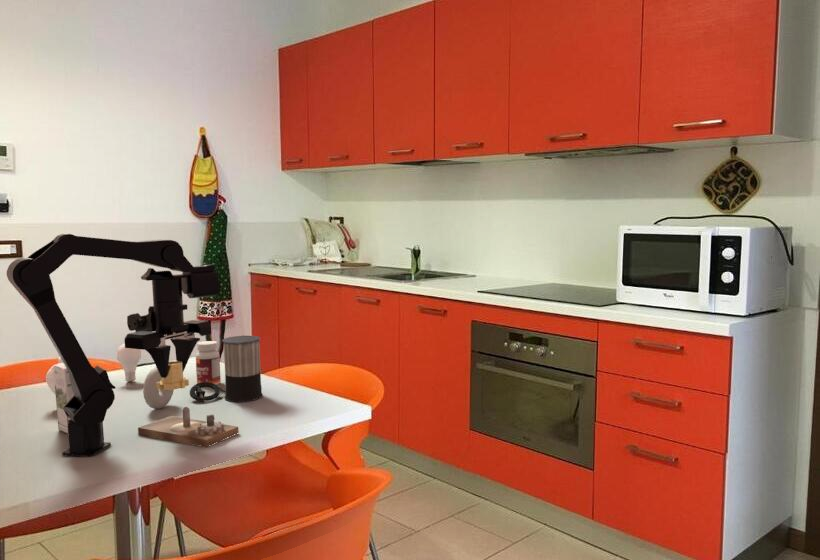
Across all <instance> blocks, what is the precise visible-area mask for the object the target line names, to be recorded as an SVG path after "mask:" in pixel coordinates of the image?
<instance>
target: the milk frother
mask: <svg viewBox="0 0 820 560" xmlns="http://www.w3.org/2000/svg"><path fill="white" fill-rule="evenodd" d="M260 340H261V337H260V336H256V335H236V336H229V337H225V338H223V339H222V340H221V341H222V343H223V357H224V358H223V359H224V361H223V362H224V375H225V376H224V377H225V378H224V379H225V380H224V381H225V383H224V384H225V390H224V389H223V388H221V387H220V386H219V385H215V384H213V383H211V382H200V383H197V382H196V384H194V385H193V386H192V387H191V388H190V390H189V396H190V398H191V399H193V400H195V401H200V402H201V401H202V402H205V401H206V402H207V401H214V400H215V399H217V398H218V397H219V396H220V392H223V393H225V395H224V400H225V401H228V402H229V401H230V402H235V403H236V402H237V403H239V402H240V403H241V402H251V401H255V400H259V399H261V398H262V397H263V396H264V395H263V393H262V380H261V379H262V376H261V374H262V373H261V349H260V347H261V346H260ZM204 388H208V389H211V390H213V391H214V393H212V394H211V395H210V394H209V395H207V396H206V391H205V390H203V389H204Z"/></svg>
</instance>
